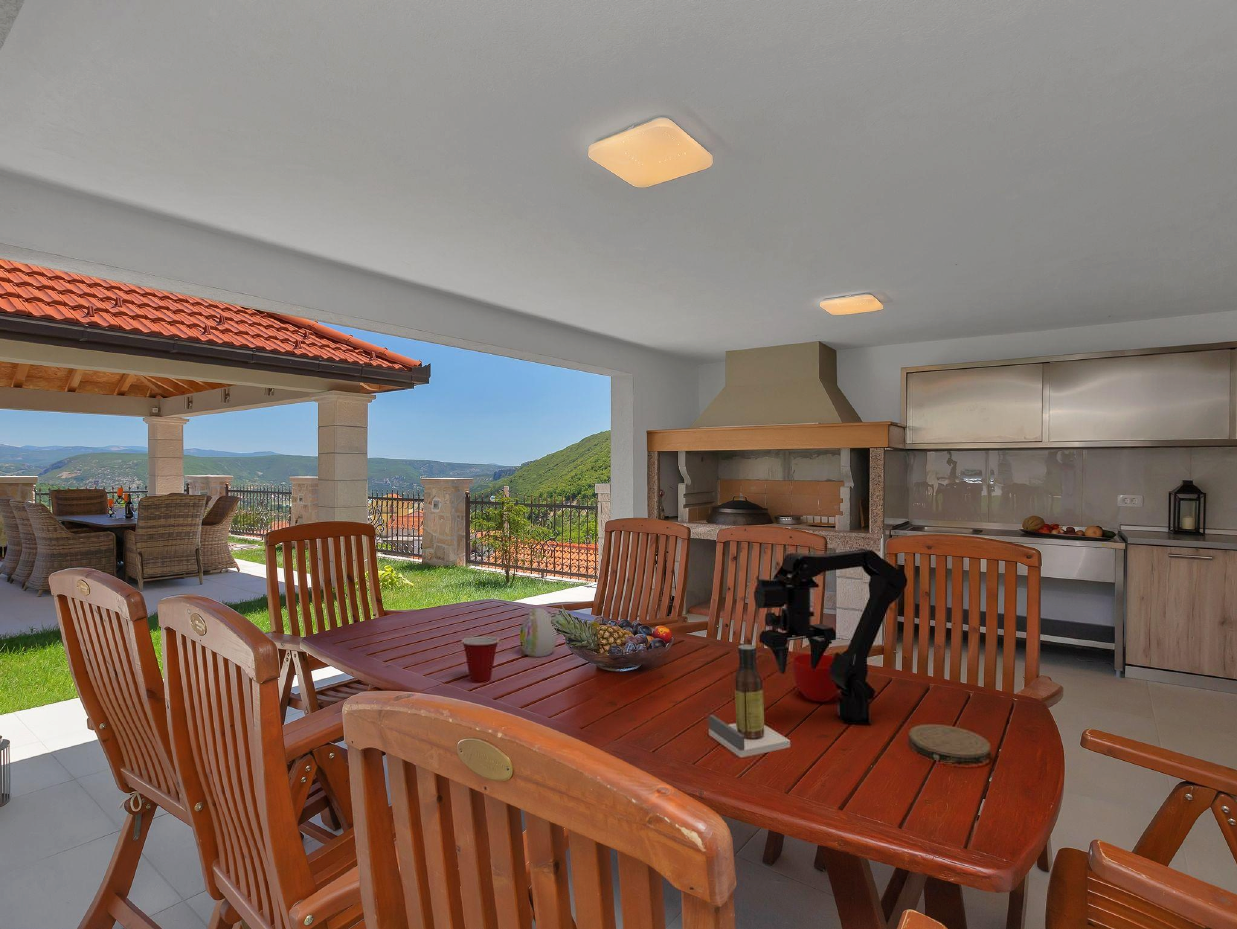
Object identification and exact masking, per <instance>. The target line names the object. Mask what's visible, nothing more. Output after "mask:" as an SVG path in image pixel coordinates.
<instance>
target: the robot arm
mask: <svg viewBox="0 0 1237 929" xmlns="http://www.w3.org/2000/svg"><path fill="white" fill-rule="evenodd" d="M854 568H862V570H863V571H864V573H865V574H866V575H867V576H869V581H868V592H869V593H868V595H869V597H868V600H867V602H866V605H865V607H864V608H863V611H862V614H861V616H860V619H859V620H858V623H857V625H856V628H855V630H854V632H853V635H852V637H851V640H850V642H849V644H848V647H847V649H846V650H844V652H842V653H839V652H835V654H834V656H833V657H834V659H833V662H832V664H831V665H830V666H829V667H830V668H831V669H830V676H831V679H832V681H833V682H834V683H835V685H836V688H837V689H838V691H840V696H839V697H838V698H837V714H838V716H839V718H840V719H841V721H842V723H843V722H844V724H853V723H854V724H855V725H858V724H859V725H868V726H869V725H871V724H872V722H871V719H870V701H871V700H873V699H874V698H875V694H876V690H875V689H874V688H873V687H872V686H871V685H870V684H869V683H868V682H867V678H868V673H869V670H868V658H869V655H870V653H871V650H872V647H873V646H874V643H875V640H876V638H877V635H878V634H879V631H880V629H881V626H882V624H883V622H884V619H885V617H886V614H887V612H888V610H889V607H890V606H891V604H893V603H894V602H896V601H897V599H899V598H900V597H901V596H902V593H903V591H905V589H906V587H907V584H908V578H907V575H906V573H905V572H904V571H903V570H902V569H901V568H900V569H899V568H896V567H895V566H894V565H892V564H891V563H889V562H888V561H887V560H885V559H884V558H882V557H881V556H880V555H879V554H878V553H877V552H875V550H873V549H868V548H867V549H866V548H863V547H861V548H858V549H854V550H845V551H837V552H828V553H822V554H814V553H813V554H811V553H804V552H790V553H787V554H786V555H785V556H784V557H783V560H782V563H781V565H780V567H779V568H778V570H777V571H776V573H775V574H774V576H773V577H772V579H765V578H759V579H757V582H758V583H757V584H756V585H755V588H754V591H753V599H754V603H755V606H756V607H757V609H776V608H782V610H781V614H780V615H779V614H778V615H777V613H775V612H767V613H765V617H764V622H765V625H766V626H767V627H771V629H767V630H761V632H760V633H759V636H758V637H759V638H758V639H759V643H760V644H763V645H764V646H765V647H767V648H769V649H770V651H772V654H773V656H774V658H775V661H776V664H777V667H778V669H779V670H778V671H779V672H780V674H782V675H785V672H786V669H787V662H788V655H789V647H787V645H788V643H789V641H795V640H796V641H797V640H803V639H805V640H806V639H807V641H808V643H809V645H810V654H811V668H812V669H816V667H817V665H818V663H819V661H820V659H821V657H822V655H825V652H826V651H827V648H828V647H829V646H830V645H831V644H832V643H833V642H832V641H836V640H837V632H836V630H835V628H834V627H832V626H829V625H826V624H824V623H816V624H815V623H814V624H811V618H813V617H815V612H814V611H812V610H811V589H815V588H817V589H818V588H819V587H820V584H819V583H817V582H816V581H815V580H814V578H816V577H818V576H820V575H821V574H822V573H825V572H832V571H838V570H847V569H854ZM783 607H785V608H783ZM784 631H785V632H784ZM854 724H853V725H854Z"/></svg>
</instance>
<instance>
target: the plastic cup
mask: <svg viewBox="0 0 1237 929" xmlns="http://www.w3.org/2000/svg"><path fill="white" fill-rule="evenodd" d="M499 641H500V638H498V637H495V636H494V637H493V636H472V637H466V638H463V639H461V643H462V645H463V648H464V652H465V658H466V664H467V669H468V675H469V679H470V682H472V683H475V684H476V683H477V684H479V683H487V682H489V681H491V679H492V672H493V668H494V663H495V658H496V657H495V656H496V651H497V646H498V643H499Z"/></svg>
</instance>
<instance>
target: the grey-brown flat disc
mask: <svg viewBox="0 0 1237 929" xmlns="http://www.w3.org/2000/svg"><path fill="white" fill-rule="evenodd" d="M908 732H909V733H908V746H909V745H910V746H911V748H912V749H913V750H914V751H915V752H917V753H918V754H920V755H922V756H924V757H927V758H929V759H932V760H936V761H938V762H945V763H952V764H959V765H960V764H961V765H962V764H963V765H970V764H979V763H983V762H986V761H987V760H988V759H990V760H991V744H990V742H989V741H988V740H987V739H986V738H984V737H983V736H982V735H980V734H979V733H978V734H977V733H975V732H973V731H970V730H968V729H964V728H961V727H957V726H951V725H945V724H932V723H931V724H921V725H917V726H914V727H912V728H911V729H909V731H908ZM911 748H910V749H911Z"/></svg>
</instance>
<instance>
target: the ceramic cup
mask: <svg viewBox="0 0 1237 929" xmlns="http://www.w3.org/2000/svg"><path fill="white" fill-rule="evenodd" d="M833 659H834V656H833V655H828V654H823V655H822V657H821V659H820V661H819V663H818V665H817V667H816V669H812V668H811V653H801V654H797V655H795V656H793V659H792V672H793V676H794V680H795V683H796V686H797V688H798V689H799V691H800V693H801V694H802V695H803V696H804V697H806V698H805V699H807V700H809V699H810V700H809V701H811V700H812V702H816V701H818V703H824V702H825V703H826V702H829V701H831V699H832V698H833V697H834V696H835V695H836V694H837V692H839V690H838V689H837V688H836V685H835V683H834V682H833V681H832V679H831V676H830V669H831V668H830V667H829V666H830V665H831V664H832V662H833Z"/></svg>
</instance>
